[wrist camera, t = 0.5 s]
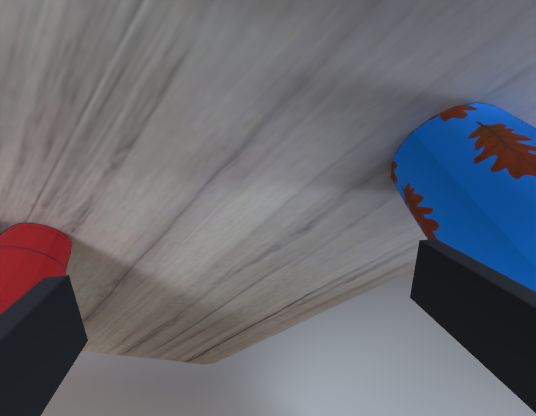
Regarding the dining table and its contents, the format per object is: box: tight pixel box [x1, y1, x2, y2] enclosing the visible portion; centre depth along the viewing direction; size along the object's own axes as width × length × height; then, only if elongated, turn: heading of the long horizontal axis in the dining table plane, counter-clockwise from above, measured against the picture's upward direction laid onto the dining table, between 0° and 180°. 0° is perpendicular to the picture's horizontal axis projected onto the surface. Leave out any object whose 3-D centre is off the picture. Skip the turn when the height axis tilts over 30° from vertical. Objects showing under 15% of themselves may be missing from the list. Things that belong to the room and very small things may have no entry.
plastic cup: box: [0, 223, 71, 314], centre depth 25 cm, size 11×11×12 cm
